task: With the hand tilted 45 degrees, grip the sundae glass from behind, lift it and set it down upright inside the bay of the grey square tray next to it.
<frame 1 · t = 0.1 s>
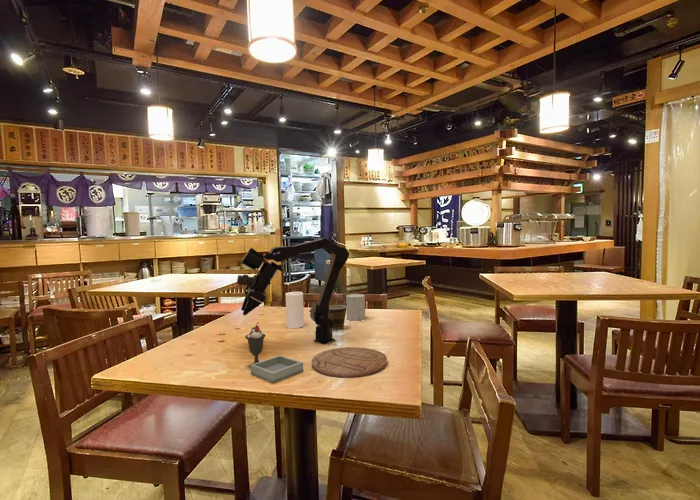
hand: (243, 312, 135), 15 cm above the table, tool tilted 35°, fingers open, 9 cm apart
sundae: (256, 366, 121), on the table
grey stone cylinder: (356, 320, 183), on the table
grey square tray: (277, 373, 114), on the table
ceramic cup: (334, 329, 165), on the table
trivet: (349, 364, 121), on the table
cup: (295, 326, 173), on the table
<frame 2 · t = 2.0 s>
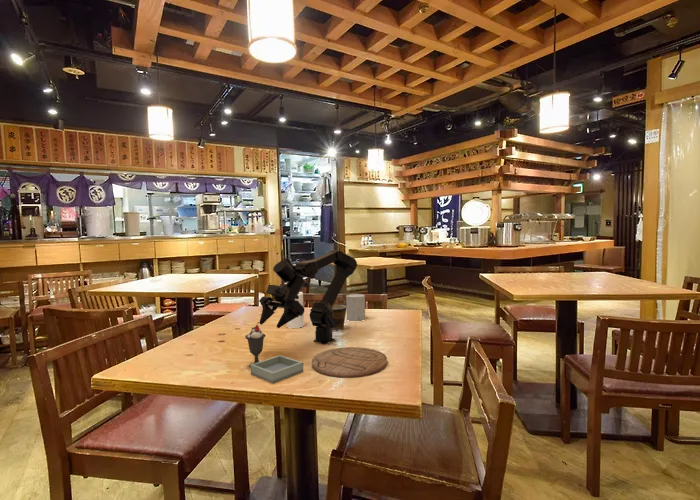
hand: (268, 325, 125), 12 cm above the table, tool tilted 45°, fingers open, 9 cm apart
nothing on the table moved.
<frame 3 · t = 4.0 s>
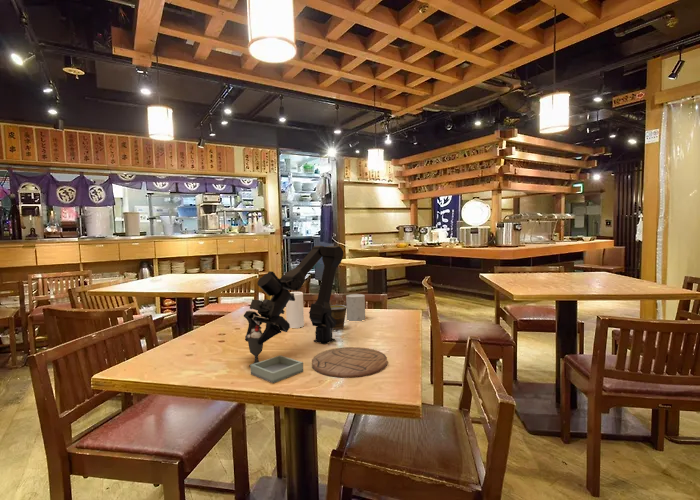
hand: (252, 342, 119), 8 cm above the table, tool tilted 45°, fingers closed on sundae, 7 cm apart
sundae: (256, 366, 121), on the table, touching gripper
everything else where it was.
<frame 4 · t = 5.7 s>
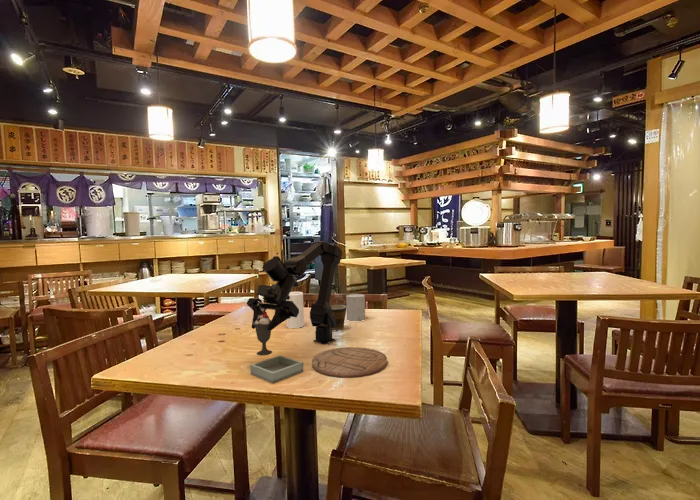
hand: (260, 329, 115), 13 cm above the table, tool tilted 45°, fingers closed on sundae, 7 cm apart
sundae: (264, 353, 117), point 5 cm above the table, touching gripper
everything else where it was.
when the fingers open (10 cm above the table, at t = 7.4 s): sundae stays where it is, resting on grey square tray.
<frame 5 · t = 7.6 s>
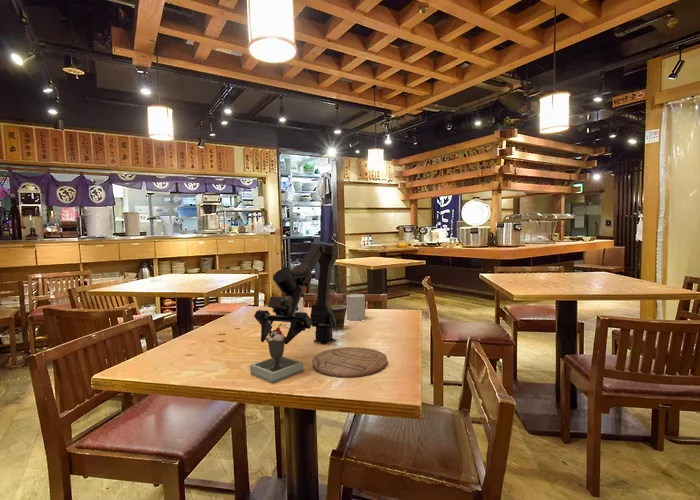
hand: (273, 342, 112), 10 cm above the table, tool tilted 45°, fingers open, 8 cm apart
sundae: (277, 370, 114), point 1 cm above the table, touching grey square tray
everything else where it was.
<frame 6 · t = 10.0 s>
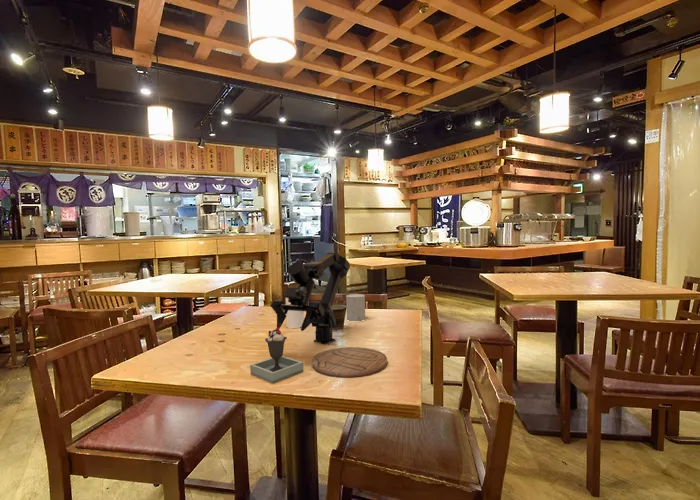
hand: (289, 329, 122), 11 cm above the table, tool tilted 45°, fingers open, 9 cm apart
nothing on the table moved.
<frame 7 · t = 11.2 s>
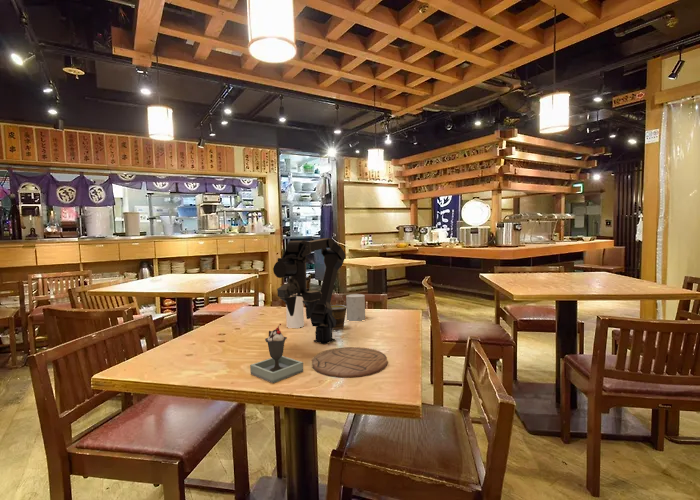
hand: (299, 317, 133), 13 cm above the table, tool pointing down, fingers open, 9 cm apart
nothing on the table moved.
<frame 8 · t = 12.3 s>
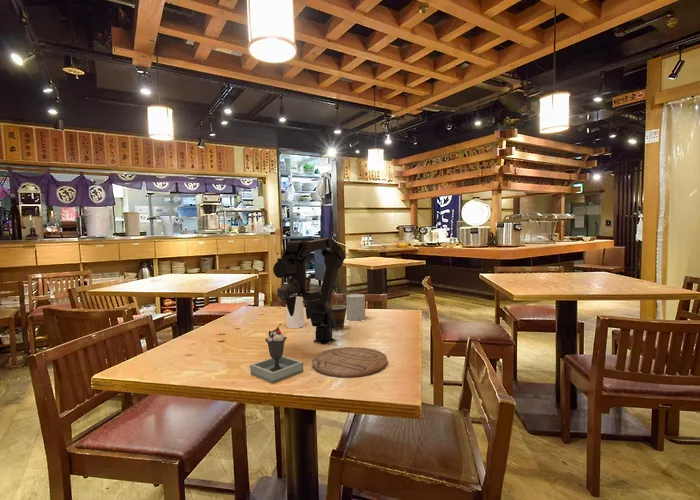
hand: (299, 317, 133), 13 cm above the table, tool pointing down, fingers open, 9 cm apart
nothing on the table moved.
at the end: sundae 0.1 cm off-centre on the grey square tray, point 0.6 cm above the grey square tray's base; sundae tilted 0°; the gripper is holding nothing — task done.
